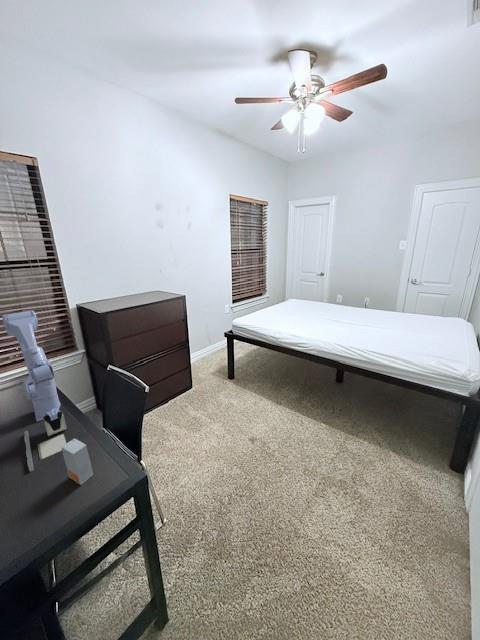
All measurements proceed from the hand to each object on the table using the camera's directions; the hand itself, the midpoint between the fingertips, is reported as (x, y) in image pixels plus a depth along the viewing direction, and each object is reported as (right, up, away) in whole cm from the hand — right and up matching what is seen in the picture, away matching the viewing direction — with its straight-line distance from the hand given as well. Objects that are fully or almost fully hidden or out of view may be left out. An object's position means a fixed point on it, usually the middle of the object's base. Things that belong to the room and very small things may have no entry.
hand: (55, 426), depth 100 cm
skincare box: (+21, -8, -19) cm, 29 cm away
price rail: (-3, -5, -9) cm, 11 cm away
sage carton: (0, -2, +1) cm, 2 cm away
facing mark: (+3, -5, -7) cm, 9 cm away
